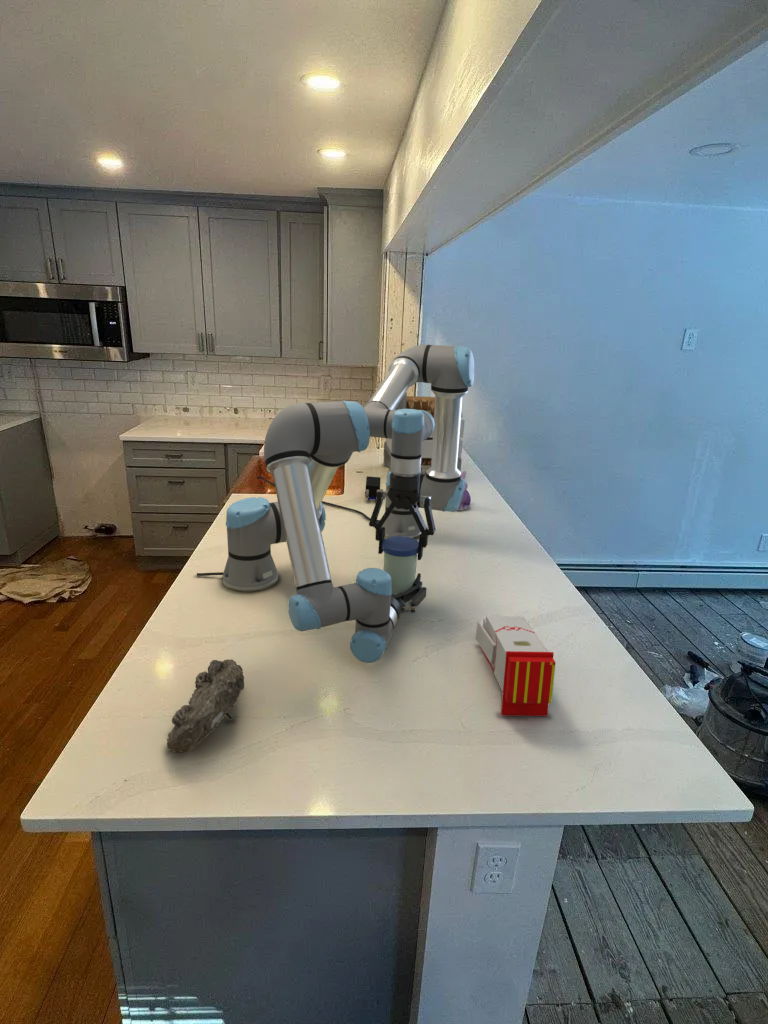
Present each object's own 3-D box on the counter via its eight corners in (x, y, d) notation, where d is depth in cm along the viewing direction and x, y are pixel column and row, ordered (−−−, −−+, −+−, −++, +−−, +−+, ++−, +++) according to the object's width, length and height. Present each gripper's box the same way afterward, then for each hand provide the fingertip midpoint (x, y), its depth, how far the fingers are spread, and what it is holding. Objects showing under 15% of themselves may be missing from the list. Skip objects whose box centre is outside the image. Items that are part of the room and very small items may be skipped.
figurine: (457, 512, 223) (460, 476, 218) (443, 504, 231) (446, 469, 226) (477, 509, 227) (480, 473, 222) (462, 502, 236) (465, 467, 230)
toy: (522, 601, 137) (564, 658, 107) (517, 652, 139) (557, 722, 110) (472, 600, 136) (500, 657, 107) (468, 651, 139) (495, 721, 110)
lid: (427, 550, 148) (428, 544, 147) (401, 560, 141) (401, 554, 140) (400, 538, 154) (400, 533, 154) (373, 548, 148) (374, 542, 147)
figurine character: (380, 506, 230) (380, 491, 243) (381, 489, 227) (381, 475, 240) (364, 506, 230) (364, 491, 243) (364, 489, 226) (365, 474, 240)
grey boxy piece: (382, 463, 289) (386, 382, 275) (445, 464, 293) (451, 384, 279) (390, 482, 257) (394, 392, 243) (460, 483, 261) (468, 394, 247)
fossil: (192, 660, 117) (244, 628, 112) (224, 691, 120) (276, 661, 115) (142, 746, 98) (202, 712, 93) (182, 779, 101) (242, 748, 96)
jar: (420, 604, 153) (424, 545, 147) (397, 614, 147) (401, 554, 142) (397, 592, 159) (400, 536, 153) (375, 602, 153) (377, 543, 147)
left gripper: (339, 622, 138) (364, 582, 159) (425, 636, 133) (440, 593, 154) (339, 594, 135) (365, 557, 156) (428, 608, 131) (442, 568, 152)
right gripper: (452, 474, 141) (445, 555, 149) (366, 464, 147) (364, 543, 154) (447, 482, 134) (439, 567, 142) (357, 471, 140) (355, 554, 148)
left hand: (402, 575), depth 155 cm, fingers closed on jar, 9 cm apart
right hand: (400, 555), depth 148 cm, fingers closed on lid, 10 cm apart
